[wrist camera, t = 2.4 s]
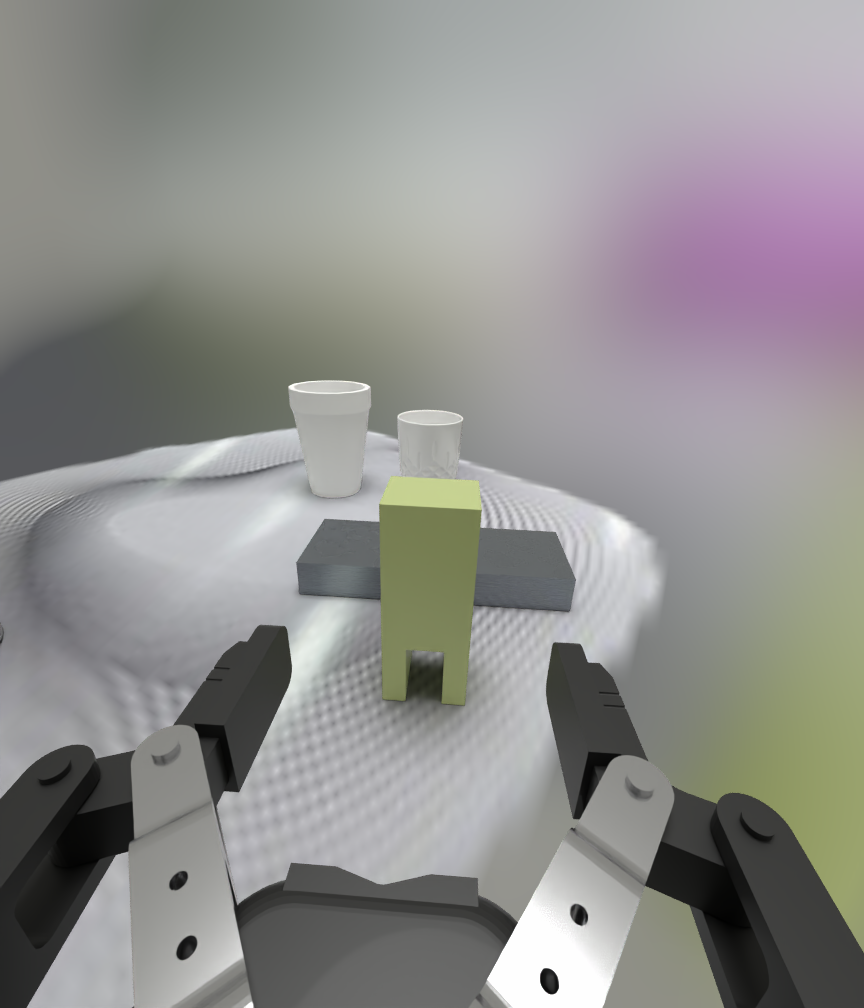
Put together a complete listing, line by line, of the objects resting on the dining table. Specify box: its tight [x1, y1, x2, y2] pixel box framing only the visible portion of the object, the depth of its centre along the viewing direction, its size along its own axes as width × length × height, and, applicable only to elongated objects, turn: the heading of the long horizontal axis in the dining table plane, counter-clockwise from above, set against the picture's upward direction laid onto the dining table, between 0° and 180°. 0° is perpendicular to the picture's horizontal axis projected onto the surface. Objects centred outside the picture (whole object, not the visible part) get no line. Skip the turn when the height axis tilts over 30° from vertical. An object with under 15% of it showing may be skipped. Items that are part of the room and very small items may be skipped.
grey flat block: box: [296, 519, 576, 611], centre depth 39 cm, size 22×8×3 cm, turn 87°
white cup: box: [397, 410, 463, 479], centre depth 55 cm, size 8×8×10 cm
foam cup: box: [289, 381, 371, 498], centre depth 55 cm, size 10×9×13 cm
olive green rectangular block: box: [379, 476, 482, 705], centre depth 26 cm, size 5×4×13 cm
